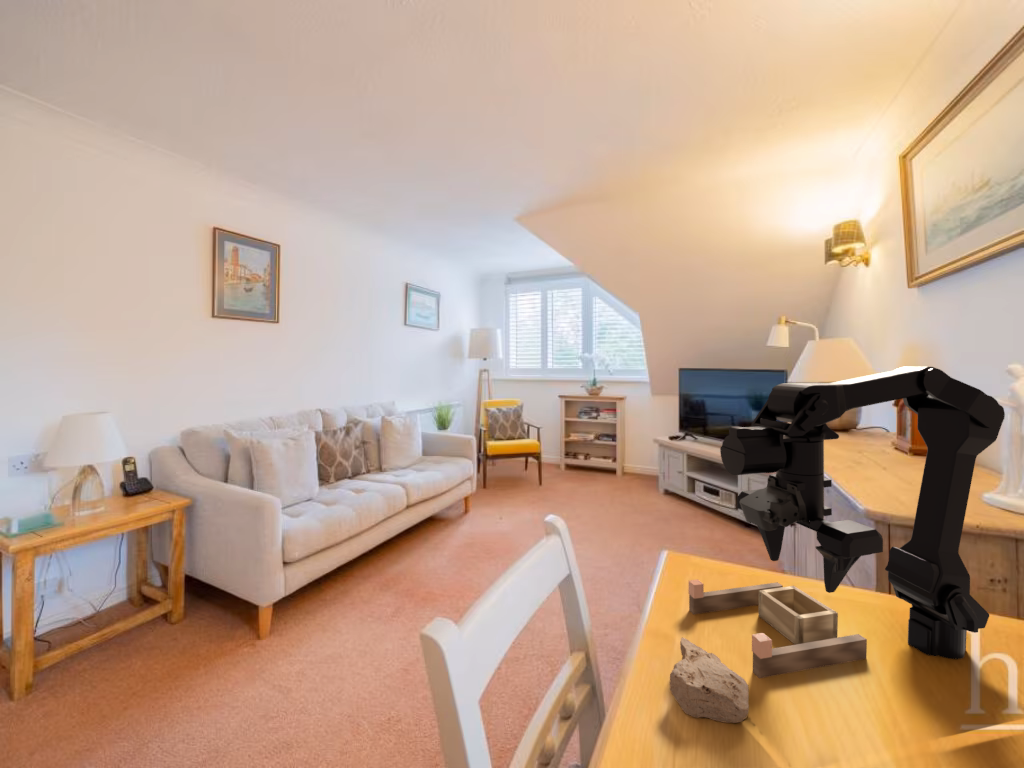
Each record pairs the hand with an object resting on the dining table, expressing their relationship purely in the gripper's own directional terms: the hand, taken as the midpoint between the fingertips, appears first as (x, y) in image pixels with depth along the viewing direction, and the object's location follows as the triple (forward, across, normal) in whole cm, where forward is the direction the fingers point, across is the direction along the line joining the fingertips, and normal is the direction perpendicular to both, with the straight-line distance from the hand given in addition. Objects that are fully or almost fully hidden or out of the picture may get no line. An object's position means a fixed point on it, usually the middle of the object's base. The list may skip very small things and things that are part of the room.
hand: (800, 575), depth 60 cm
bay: (+13, -6, 0) cm, 14 cm away
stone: (+13, +2, -18) cm, 23 cm away
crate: (+12, -6, +5) cm, 15 cm away
